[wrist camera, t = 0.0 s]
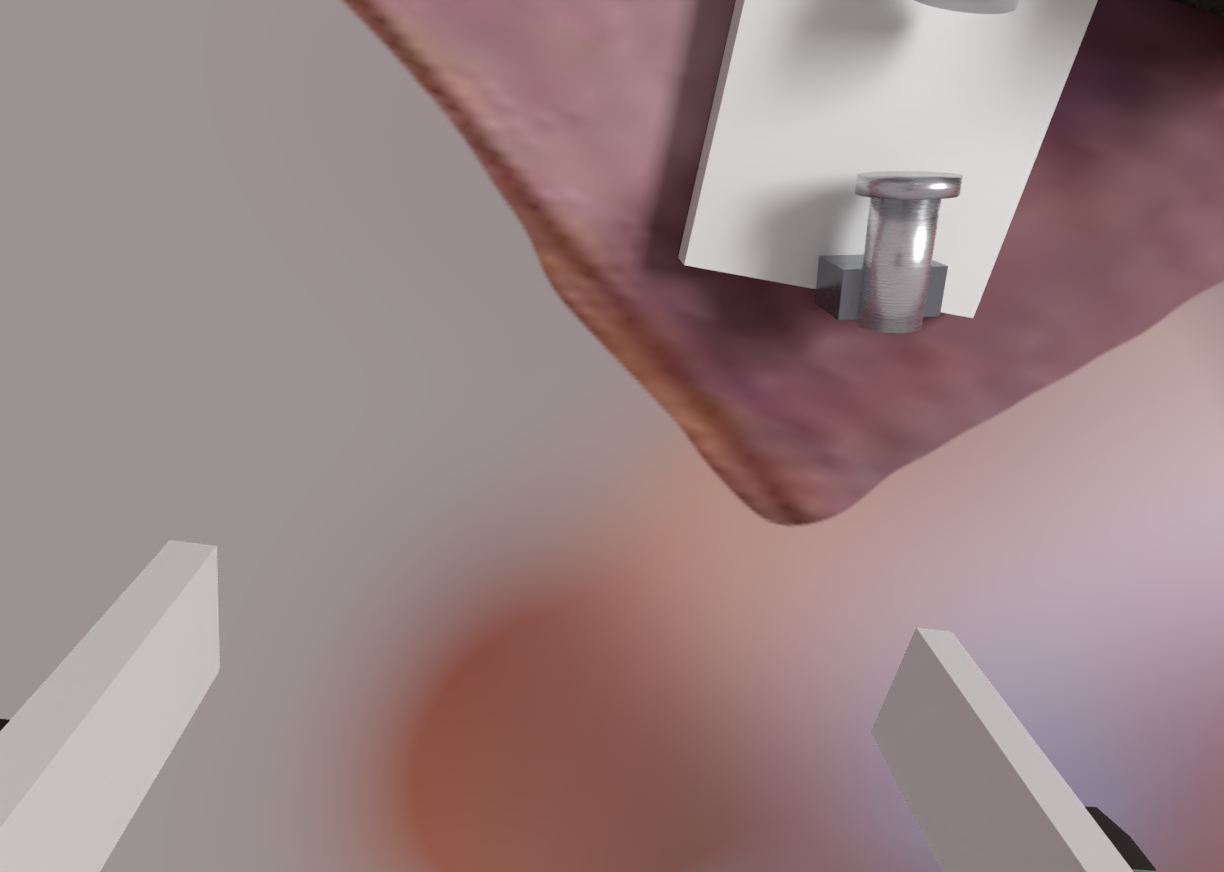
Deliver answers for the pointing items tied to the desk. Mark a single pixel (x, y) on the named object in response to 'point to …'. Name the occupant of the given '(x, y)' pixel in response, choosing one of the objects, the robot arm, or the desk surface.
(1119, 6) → the desk surface
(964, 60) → the shaft base
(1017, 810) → the robot arm
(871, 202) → the shaft out
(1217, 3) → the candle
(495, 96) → the desk surface
